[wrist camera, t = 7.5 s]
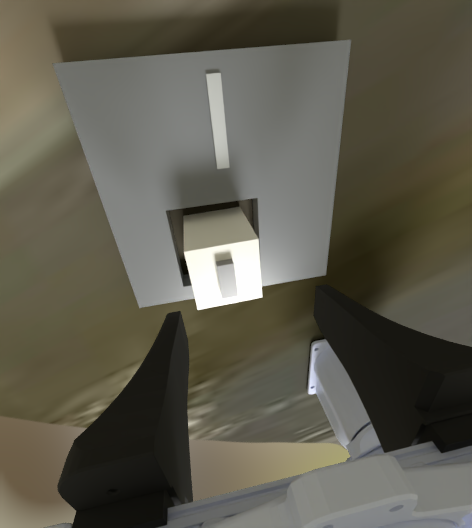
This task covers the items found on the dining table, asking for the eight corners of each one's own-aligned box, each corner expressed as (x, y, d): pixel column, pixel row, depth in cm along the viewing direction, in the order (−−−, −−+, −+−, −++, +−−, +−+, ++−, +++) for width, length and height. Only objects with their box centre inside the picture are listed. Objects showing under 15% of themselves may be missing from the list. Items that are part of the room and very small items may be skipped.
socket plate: (316, 264, 25) (326, 276, 23) (142, 294, 23) (139, 309, 21) (335, 45, 17) (353, 38, 15) (65, 67, 15) (50, 62, 13)
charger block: (244, 255, 23) (264, 302, 17) (194, 264, 23) (198, 316, 17) (239, 206, 21) (261, 243, 15) (183, 215, 20) (184, 256, 15)
